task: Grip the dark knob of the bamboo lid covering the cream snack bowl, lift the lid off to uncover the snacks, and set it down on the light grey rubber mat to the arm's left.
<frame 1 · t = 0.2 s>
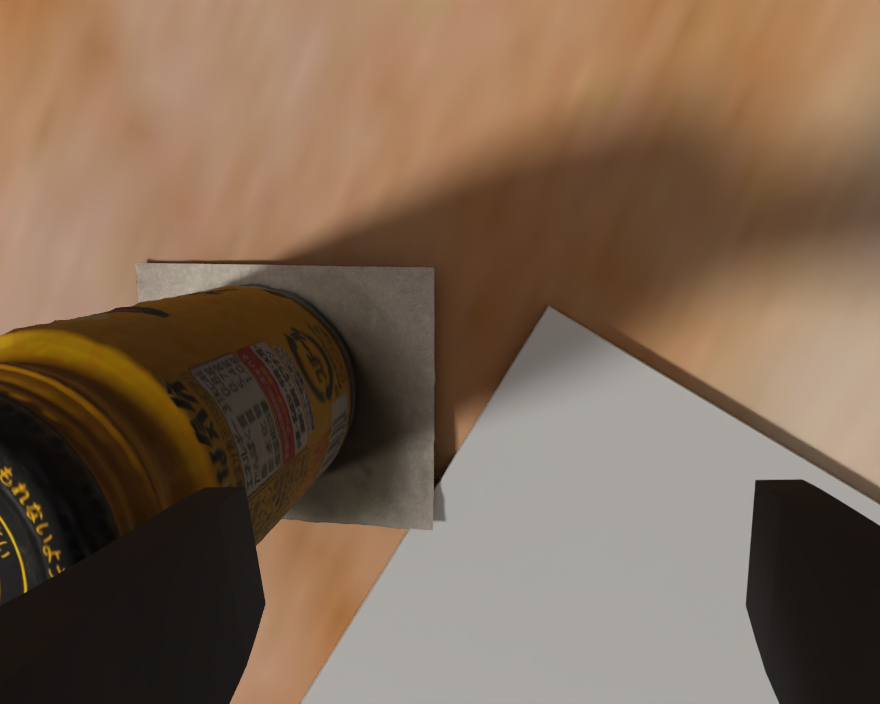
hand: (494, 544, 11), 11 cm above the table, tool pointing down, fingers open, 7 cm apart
condiment: (289, 392, 22), on the table, touching mat
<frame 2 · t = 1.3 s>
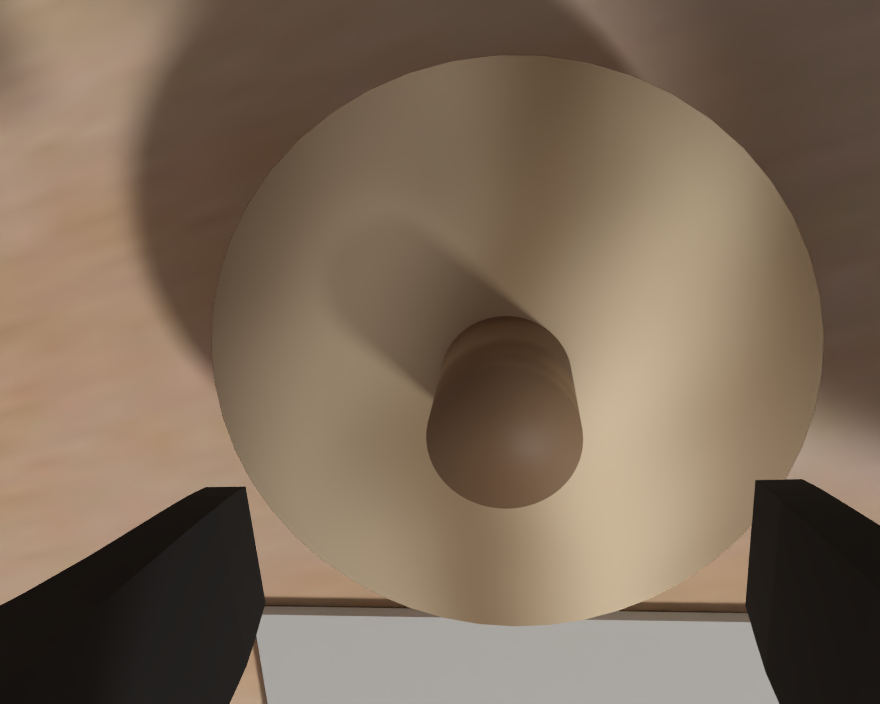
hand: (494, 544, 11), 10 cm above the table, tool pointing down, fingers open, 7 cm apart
lid: (506, 365, 17), point 3 cm above the table, touching bowl
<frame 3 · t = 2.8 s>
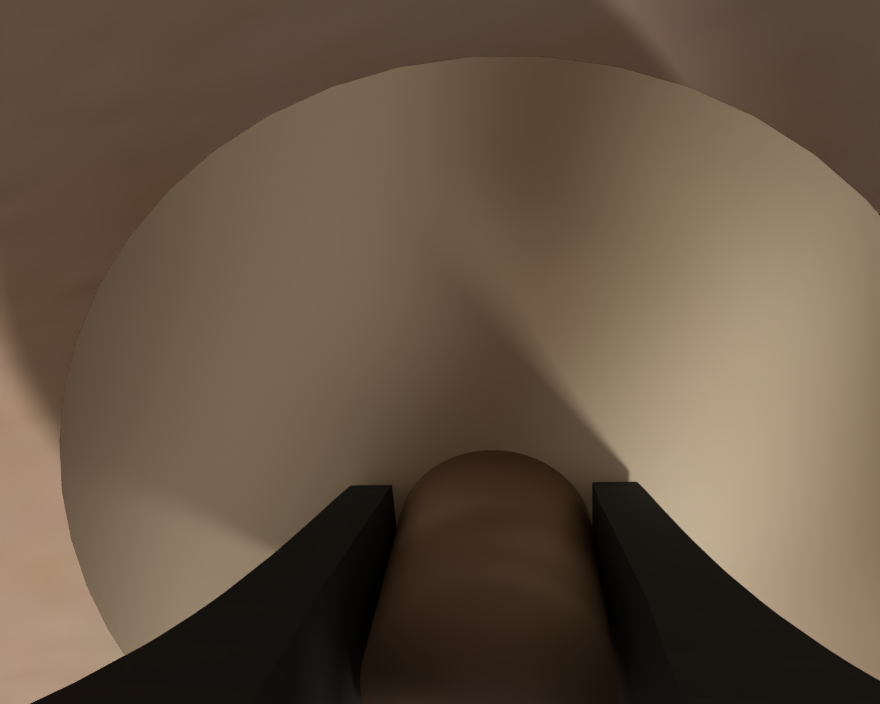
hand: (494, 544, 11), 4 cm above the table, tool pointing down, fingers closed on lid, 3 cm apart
lid: (495, 507, 12), point 3 cm above the table, touching bowl, gripper
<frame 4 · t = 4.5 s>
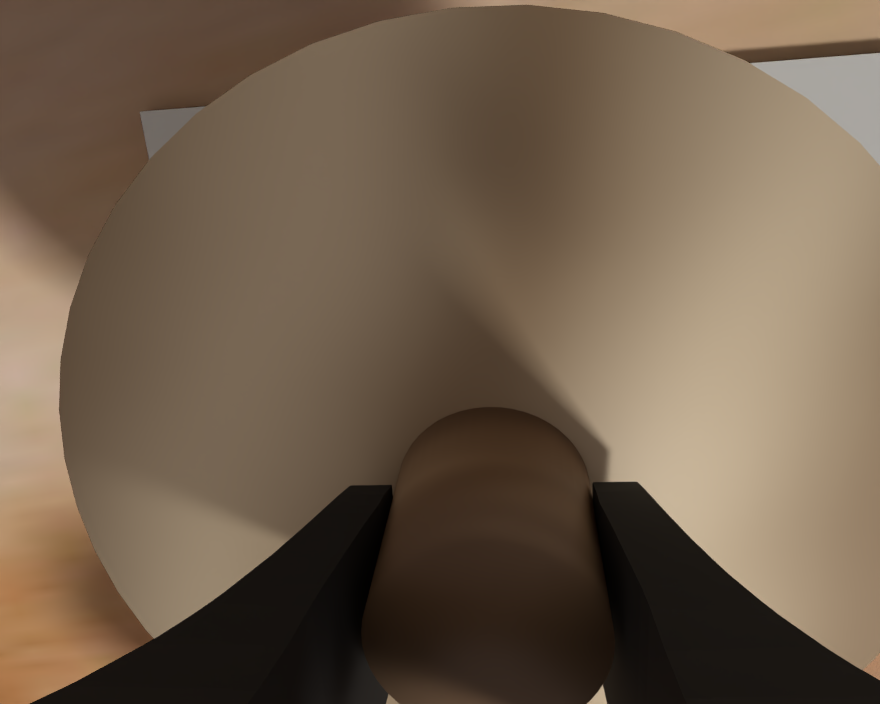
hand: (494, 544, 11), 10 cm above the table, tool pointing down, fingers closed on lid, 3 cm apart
mat: (514, 388, 21), on the table
lid: (494, 463, 12), point 9 cm above the table, touching gripper
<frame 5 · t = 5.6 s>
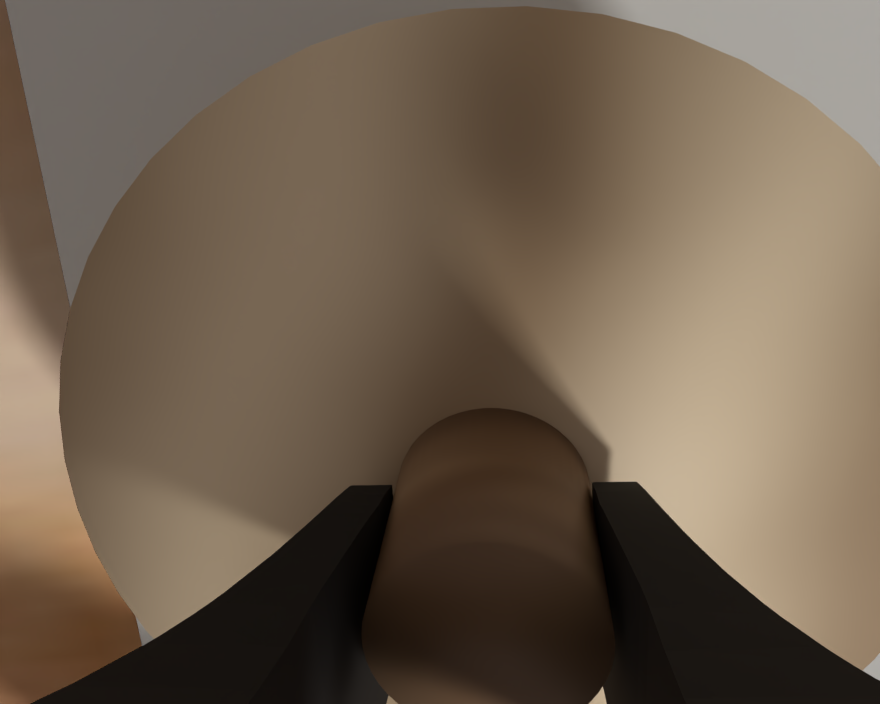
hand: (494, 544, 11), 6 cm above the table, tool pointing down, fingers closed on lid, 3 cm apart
mat: (503, 388, 16), on the table
lid: (494, 464, 12), point 4 cm above the table, touching gripper
when the fingers open (3 cm above the table, at t = 6.4 s): lid drops 1 cm, resting on mat.
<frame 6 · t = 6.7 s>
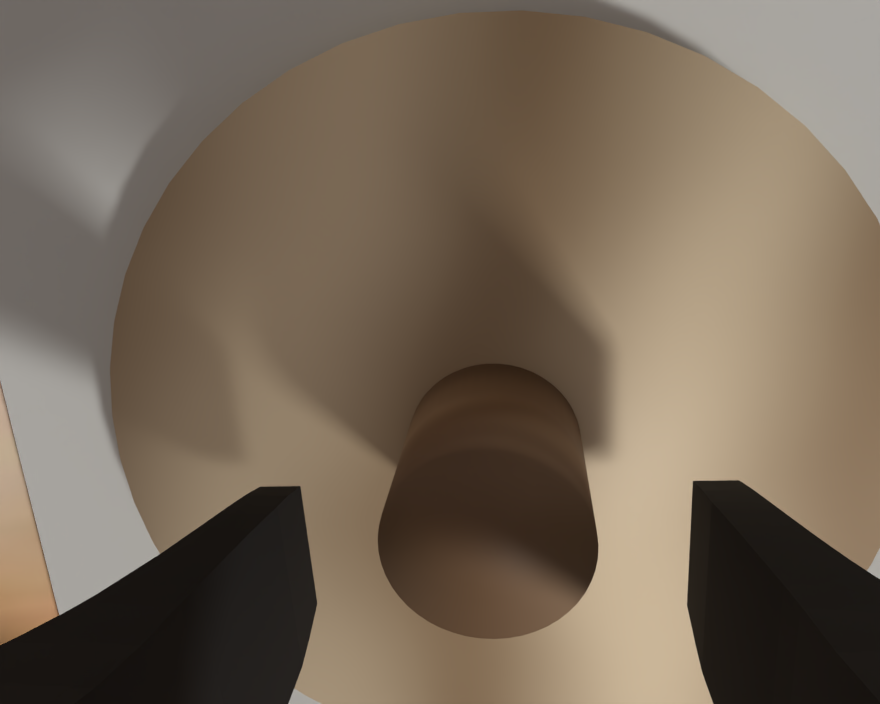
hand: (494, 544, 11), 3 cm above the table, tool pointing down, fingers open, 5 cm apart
mat: (499, 443, 14), on the table
lid: (495, 423, 13), resting on mat
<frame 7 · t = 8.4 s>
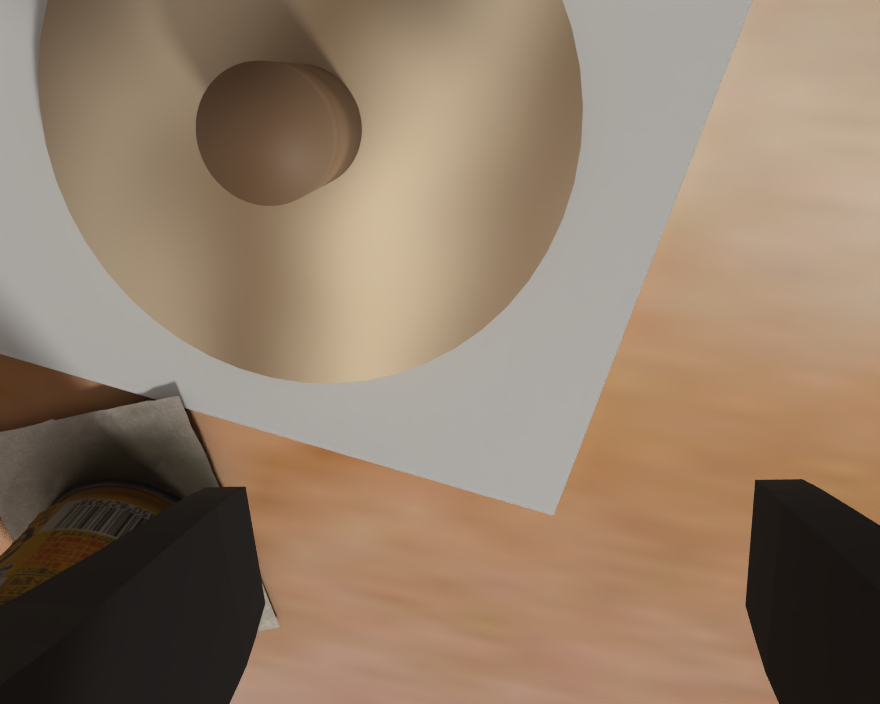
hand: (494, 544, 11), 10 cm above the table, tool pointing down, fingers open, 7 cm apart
mat: (312, 148, 20), on the table
condiment: (131, 530, 24), on the table, touching mat
lid: (312, 125, 19), resting on mat
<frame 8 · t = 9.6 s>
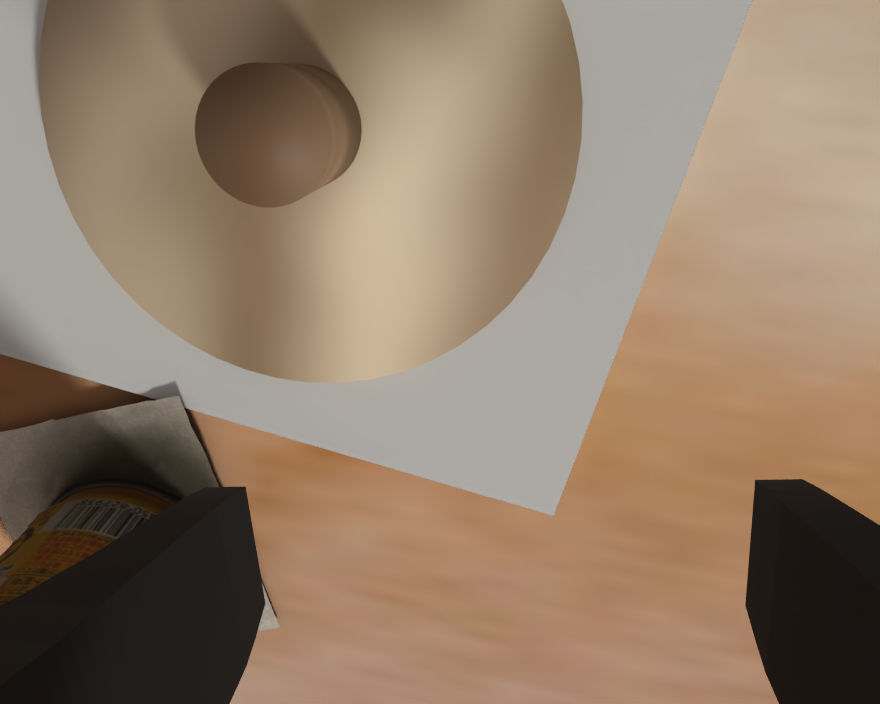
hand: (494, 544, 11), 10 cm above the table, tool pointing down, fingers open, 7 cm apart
mat: (312, 148, 20), on the table
condiment: (131, 530, 24), on the table, touching mat
lid: (311, 125, 19), resting on mat
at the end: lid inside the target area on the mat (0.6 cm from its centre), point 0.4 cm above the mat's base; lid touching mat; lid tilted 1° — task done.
